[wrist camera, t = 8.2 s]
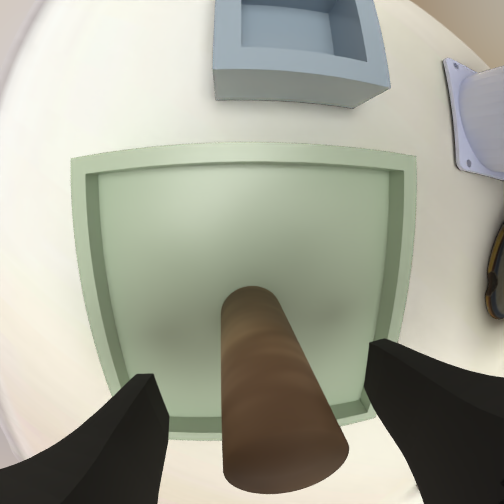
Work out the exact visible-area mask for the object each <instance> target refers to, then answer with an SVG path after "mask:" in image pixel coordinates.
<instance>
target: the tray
mask: <svg viewBox="0 0 504 504" xmlns="http://www.w3.org/2000/svg"><path fill="white" fill-rule="evenodd" d="M416 192H417V169H416V156H412V155H406V154H400V153H393V152H387V151H379V150H372V149H363V148H354V147H345V146H333V145H321V144H305V143H281V142H218V143H195V144H179V145H166V146H155V147H145V148H136V149H128V150H120V151H113V152H106V153H100V154H94V155H88V156H82V157H77V158H71V199H72V216H73V228H74V238H75V246H76V254H77V261H78V268H79V274H80V280H81V286H82V291H83V296H84V301H85V306H86V311H87V315H88V319H89V323H90V327H91V331H92V335H93V339H94V343H95V346H96V350H97V353H98V357H99V360H100V363H101V366H102V369H103V372H104V375H105V378H106V381H107V384H108V387H109V390H110V393H111V395H112V397H113V396H114V395H115V394H116V393H117V392H118V391H119V390H120V389H121V388H122V387H123V386H124V385H125V384H126V383H127V382H128V381H129V380H130V379H131V378H132V377H134V376H135V375H136V374H147V373H154V376H155V379H156V382H157V385H158V387H159V390H160V393H161V395H162V398H163V401H164V403H165V406H166V408H167V411H168V413H169V416H170V419H169V437H168V439H171V440H195V441H221V440H222V417H221V309H222V305H223V303H224V301H225V300H226V298H227V297H228V296H229V295H230V294H231V293H232V292H234V291H235V290H237V289H239V288H242V287H246V286H259V287H262V288H265V289H267V290H269V291H270V292H272V293H273V294H274V295H275V296H276V298H277V299H278V301H279V303H280V305H281V307H282V309H283V311H284V313H285V315H286V317H287V319H288V321H289V323H290V325H291V327H292V329H293V331H294V334H295V336H296V338H297V340H298V342H299V344H300V346H301V348H302V350H303V352H304V354H305V356H306V358H307V360H308V362H309V364H310V366H311V368H312V370H313V372H314V375H315V377H316V379H317V381H318V383H319V385H320V387H321V389H322V391H323V393H324V395H325V397H326V399H327V401H328V403H329V405H330V407H331V409H332V411H333V414H334V416H335V418H336V420H337V422H338V424H339V426H344V425H349V424H353V423H357V422H361V421H365V420H369V419H372V418H375V417H376V414H377V413H376V412H375V410H374V409H373V407H372V404H371V402H370V400H369V398H368V396H367V394H366V391H365V389H364V381H365V374H366V366H367V358H368V350H369V342H372V341H376V340H380V339H383V338H385V339H388V340H391V341H394V342H396V343H398V339H399V335H400V330H401V325H402V320H403V315H404V310H405V305H406V299H407V293H408V287H409V280H410V272H411V265H412V256H413V246H414V234H415V219H416Z"/></svg>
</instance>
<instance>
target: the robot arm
mask: <svg viewBox="0 0 504 504" xmlns="http://www.w3.org/2000/svg"><path fill="white" fill-rule="evenodd" d="M443 62H444V67H445V72H446V77H447V82H448V88H449V93H450V100H451V107H452V114H453V123H454V133H455V147H456V163H457V166H458V168H459V169H460V170H464V171H468V172H472V173H476V174H480V175H484V176H488V177H492V178H496V179H499V180H503V181H504V66H501V67H497V68H494V69H490V70H487V71H484V72H480V73H477V72H475V71H473V70H471V69H470V68H468V67H466V66H464V65H462V64H460V63H458V62H456V61H454V60H452V59H450V58H446V59H444V61H443ZM364 389H365V391H366V394H367V396H368V398H369V400H370V402H371V404H372V407H373V409H374V410H375V412H376V413H377V415H378V417H379V418H380V420H381V421H382V423H383V424H384V426H385V427H386V429H387V430H388V432H389V433H390V435H391V437H392V438H393V440H394V441H395V443H396V444H397V446H398V447H399V449H400V450H401V452H402V454H403V455H404V457H405V459H406V461H407V463H408V465H409V467H410V470H411V472H412V474H413V476H414V478H415V481H416V483H417V486H418V488H419V491H420V494H421V496H422V499H423V502H424V504H504V378H503V377H496V376H490V375H485V374H481V373H476V372H472V371H468V370H465V369H462V368H459V367H456V366H453V365H450V364H447V363H444V362H441V361H439V360H436V359H434V358H431V357H429V356H426V355H424V354H422V353H419V352H417V351H415V350H412V349H410V348H408V347H405V346H403V345H401V344H398V343H396V342H394V341H391V340H388V339H385V338H383V339H380V340H376V341H372V342H369V350H368V358H367V366H366V374H365V381H364ZM169 419H170V416H169V413H168V411H167V408H166V406H165V403H164V401H163V398H162V395H161V393H160V390H159V387H158V385H157V382H156V379H155V376H154V373H147V374H136V375H135V376H134V377H132V378H131V379H130V380H129V381H128V382H127V383H126V384H125V385H124V386H123V387H122V388H121V389H120V390H119V391H118V392H117V393H116V394H115V395H114V396H113V397H112V398H111V399H110V400H109V401H108V402H107V403H106V404H105V405H104V406H103V407H101V408H100V409H99V410H98V411H97V412H96V413H95V414H94V415H93V416H91V417H90V418H89V419H88V420H87V421H86V422H84V423H83V424H82V425H81V426H80V427H79V428H77V429H76V430H75V431H73V432H72V433H71V434H69V435H68V436H67V437H65V438H64V439H62V440H61V441H59V442H58V443H56V444H55V445H53V446H51V447H50V448H48V449H46V450H44V451H42V452H40V453H38V454H37V455H35V456H33V457H31V458H29V459H27V460H24V461H22V462H19V463H17V464H15V465H12V466H9V467H6V468H3V469H0V504H157V502H158V493H159V487H160V482H161V476H162V471H163V466H164V461H165V455H166V450H167V445H168V437H169Z"/></svg>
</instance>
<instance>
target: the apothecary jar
mask: <svg viewBox="0 0 504 504" xmlns="http://www.w3.org/2000/svg"><path fill="white" fill-rule="evenodd" d="M487 275H488V281H489V286H488V289H487V292H486V294H485V299H486V306H487V310H488V313H489V314H490V315H491V316H492V317H493V318H495V319H503V318H504V223H503V225H502V226H501V228H500V230H499V233H498V235H497V237H496V240H495V243H494V245H493V249H492V252H491V256H490V260H489V264H488V270H487Z"/></svg>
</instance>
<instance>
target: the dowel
mask: <svg viewBox="0 0 504 504" xmlns="http://www.w3.org/2000/svg"><path fill="white" fill-rule="evenodd" d="M221 417H222V452H223V473H224V476H225V478H226V480H227V481H228V482H229V483H230V484H232V485H233V486H235V487H237V488H239V489H241V490H244V491H247V492H252V493H259V494H279V493H287V492H292V491H296V490H300V489H303V488H306V487H309V486H312V485H314V484H316V483H318V482H320V481H322V480H324V479H326V478H327V477H329V476H330V475H332V474H333V473H334V472H335V471H336V470H338V469H339V468H340V467H341V466H342V464H343V463H344V462H345V460H346V458H347V456H348V453H349V445H348V442H347V440H346V438H345V436H344V434H343V432H342V430H341V428H340V426H339V424H338V422H337V420H336V418H335V416H334V414H333V411H332V409H331V407H330V405H329V403H328V401H327V399H326V397H325V395H324V393H323V391H322V389H321V387H320V385H319V383H318V381H317V379H316V377H315V375H314V372H313V370H312V368H311V366H310V364H309V362H308V360H307V358H306V356H305V354H304V352H303V350H302V348H301V346H300V344H299V342H298V340H297V338H296V336H295V334H294V331H293V329H292V327H291V325H290V323H289V321H288V319H287V317H286V315H285V313H284V311H283V309H282V307H281V305H280V303H279V301H278V299H277V298H276V296H275V295H274V294H273V293H272V292H270V291H269V290H267V289H265V288H262V287H259V286H246V287H242V288H239V289H237V290H235V291H234V292H232V293H231V294H230V295H229V296H228V297H227V298H226V300H225V301H224V303H223V305H222V309H221Z"/></svg>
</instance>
